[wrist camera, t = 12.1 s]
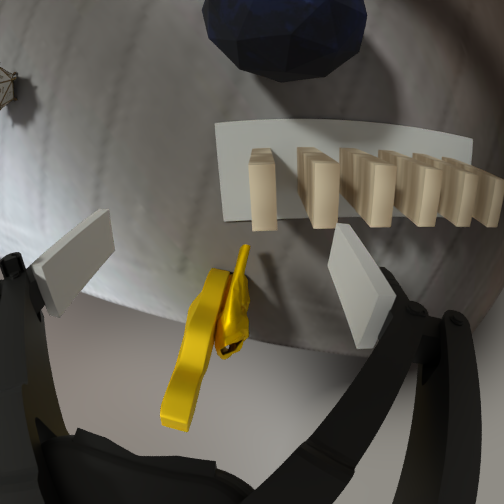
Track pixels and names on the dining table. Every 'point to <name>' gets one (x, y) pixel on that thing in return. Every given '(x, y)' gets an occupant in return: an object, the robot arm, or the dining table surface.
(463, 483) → the robot arm
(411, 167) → the tile
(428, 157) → the tile
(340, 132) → the runner mat
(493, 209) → the tile
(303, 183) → the tile
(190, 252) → the dining table surface
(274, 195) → the tile
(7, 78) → the game die
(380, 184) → the tile
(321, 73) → the decorative orb
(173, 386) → the figure statuette
